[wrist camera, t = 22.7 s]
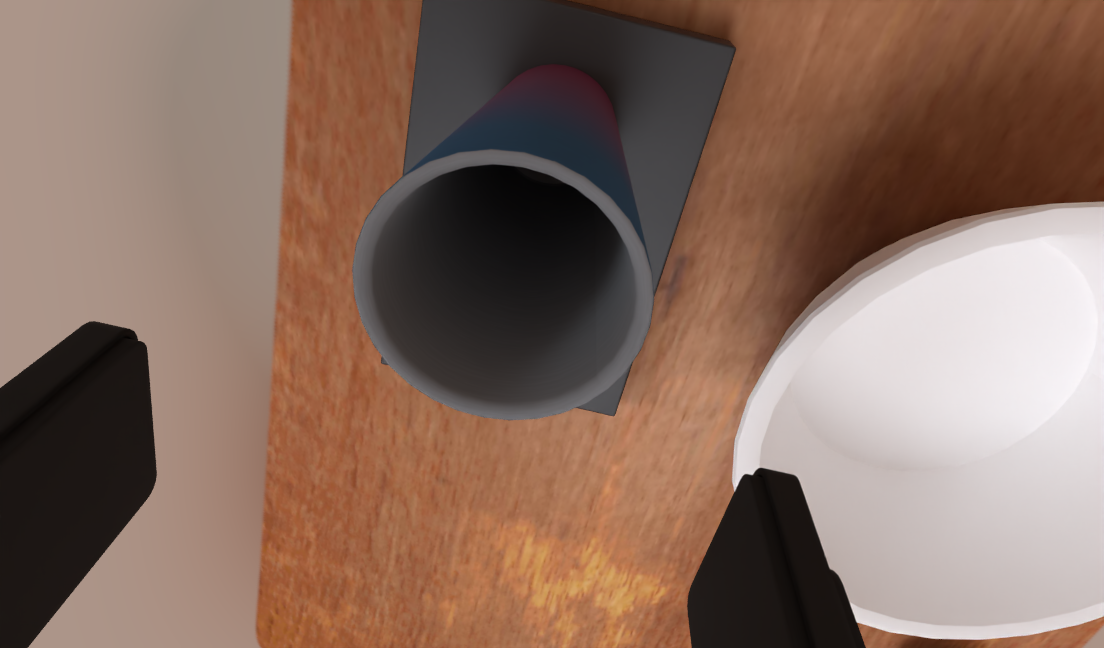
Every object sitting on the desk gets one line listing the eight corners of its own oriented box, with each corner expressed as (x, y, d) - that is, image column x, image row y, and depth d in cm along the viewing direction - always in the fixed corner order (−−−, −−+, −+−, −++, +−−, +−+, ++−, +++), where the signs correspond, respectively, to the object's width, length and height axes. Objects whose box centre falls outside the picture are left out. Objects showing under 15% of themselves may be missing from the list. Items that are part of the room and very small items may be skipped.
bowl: (746, 123, 30) (785, 187, 23) (1276, 146, 29) (1491, 221, 22) (687, 498, 40) (701, 621, 33) (1073, 527, 39) (1174, 662, 32)
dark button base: (435, -33, 28) (413, -27, 25) (731, 41, 28) (744, 55, 25) (389, 346, 37) (369, 384, 34) (615, 397, 37) (614, 439, 34)
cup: (437, 129, 29) (294, 296, 16) (550, -2, 27) (485, 76, 14) (557, 238, 31) (513, 465, 18) (674, 127, 29) (719, 302, 16)
